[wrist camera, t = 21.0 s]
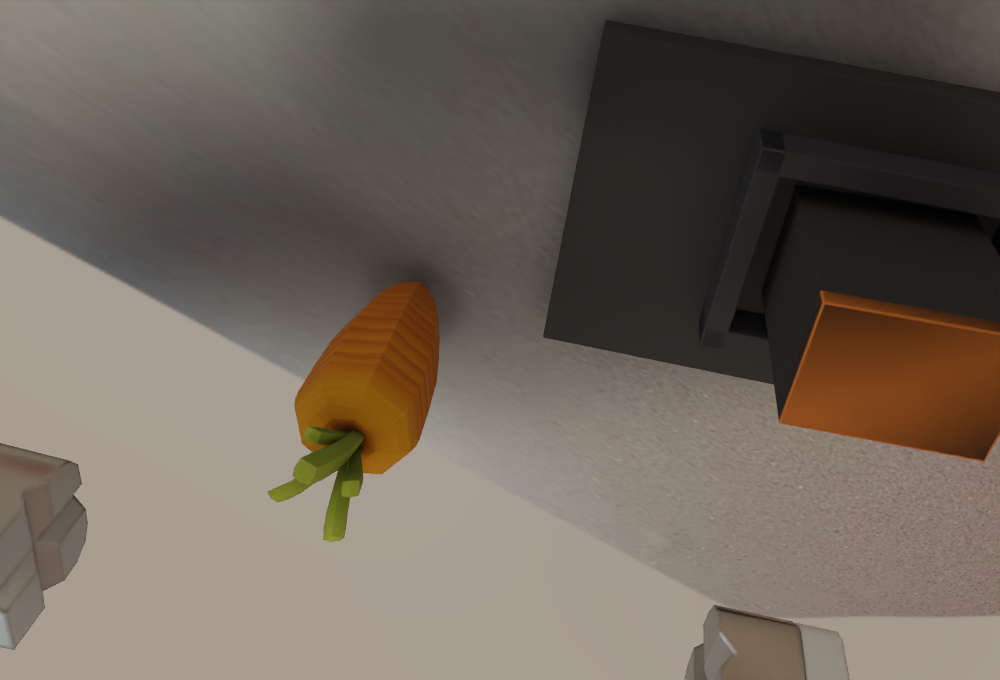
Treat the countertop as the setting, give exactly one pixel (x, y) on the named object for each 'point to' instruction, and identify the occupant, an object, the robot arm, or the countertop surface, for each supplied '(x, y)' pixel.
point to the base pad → (739, 184)
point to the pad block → (885, 323)
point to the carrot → (367, 397)
